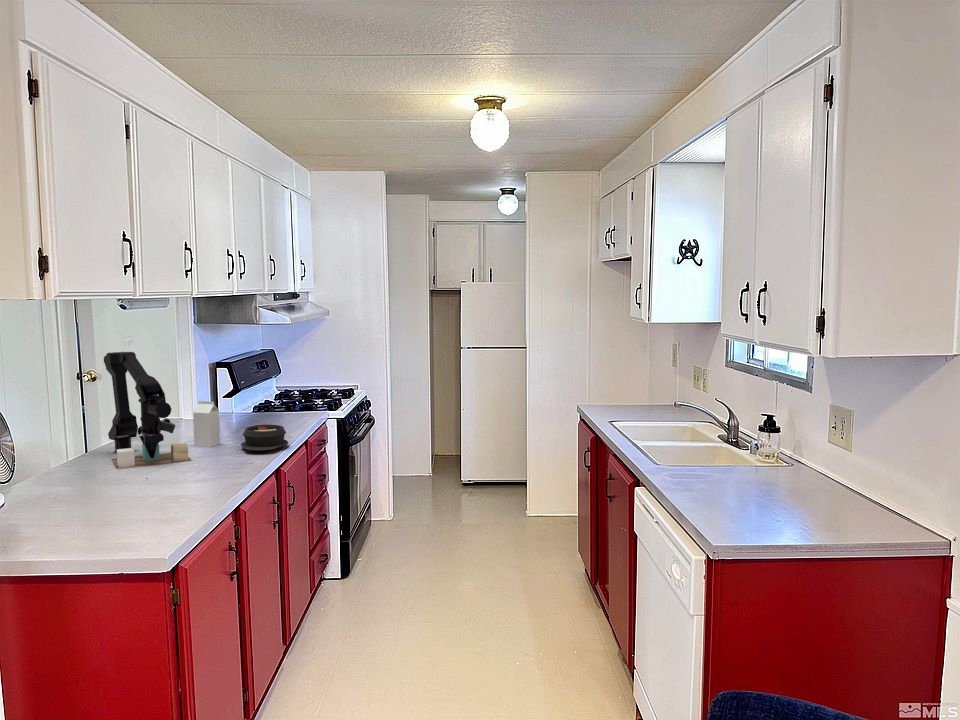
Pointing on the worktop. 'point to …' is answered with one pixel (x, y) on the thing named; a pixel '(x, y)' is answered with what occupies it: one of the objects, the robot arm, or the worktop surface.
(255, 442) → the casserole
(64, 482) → the worktop surface
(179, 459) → the birch block
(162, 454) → the walnut board
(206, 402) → the milk carton
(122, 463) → the off-white block
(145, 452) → the teal block
